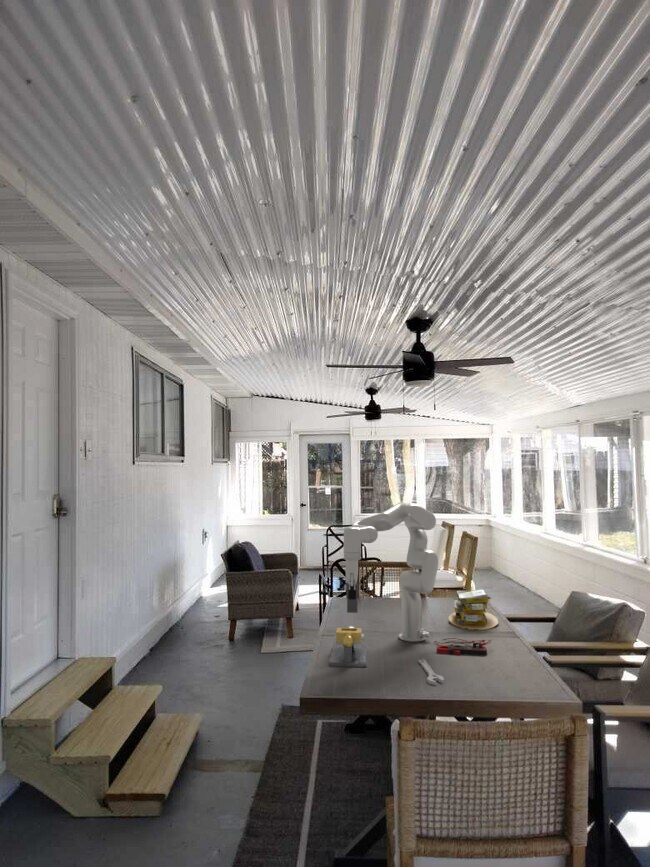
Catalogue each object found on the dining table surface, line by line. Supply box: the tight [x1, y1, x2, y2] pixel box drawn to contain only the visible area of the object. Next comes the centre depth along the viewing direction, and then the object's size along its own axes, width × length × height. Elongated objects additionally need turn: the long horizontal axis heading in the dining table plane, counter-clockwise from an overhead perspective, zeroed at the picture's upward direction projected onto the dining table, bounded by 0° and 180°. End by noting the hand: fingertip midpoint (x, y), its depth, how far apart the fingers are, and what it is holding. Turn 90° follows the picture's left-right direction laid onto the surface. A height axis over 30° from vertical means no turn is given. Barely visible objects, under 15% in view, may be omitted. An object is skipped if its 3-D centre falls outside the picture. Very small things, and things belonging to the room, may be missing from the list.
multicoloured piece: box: [328, 624, 368, 668], centre depth 237 cm, size 25×15×11 cm, turn 174°
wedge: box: [345, 582, 359, 614], centre depth 238 cm, size 2×5×12 cm, turn 86°
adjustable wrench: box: [418, 658, 445, 686], centre depth 217 cm, size 25×6×2 cm, turn 179°
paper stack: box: [448, 589, 499, 631], centre depth 288 cm, size 25×25×17 cm
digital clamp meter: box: [434, 637, 492, 656], centre depth 248 cm, size 23×4×25 cm
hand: (352, 598), depth 238 cm, fingers closed on wedge, 1 cm apart
